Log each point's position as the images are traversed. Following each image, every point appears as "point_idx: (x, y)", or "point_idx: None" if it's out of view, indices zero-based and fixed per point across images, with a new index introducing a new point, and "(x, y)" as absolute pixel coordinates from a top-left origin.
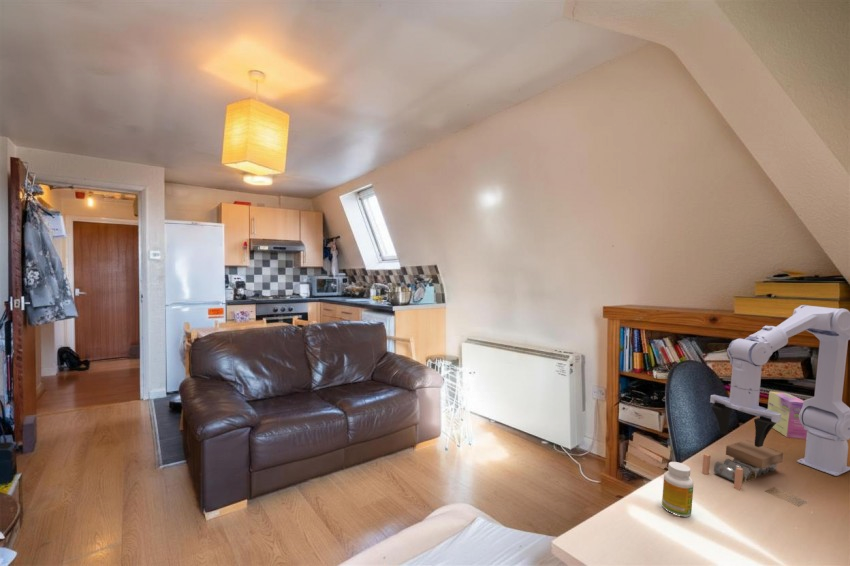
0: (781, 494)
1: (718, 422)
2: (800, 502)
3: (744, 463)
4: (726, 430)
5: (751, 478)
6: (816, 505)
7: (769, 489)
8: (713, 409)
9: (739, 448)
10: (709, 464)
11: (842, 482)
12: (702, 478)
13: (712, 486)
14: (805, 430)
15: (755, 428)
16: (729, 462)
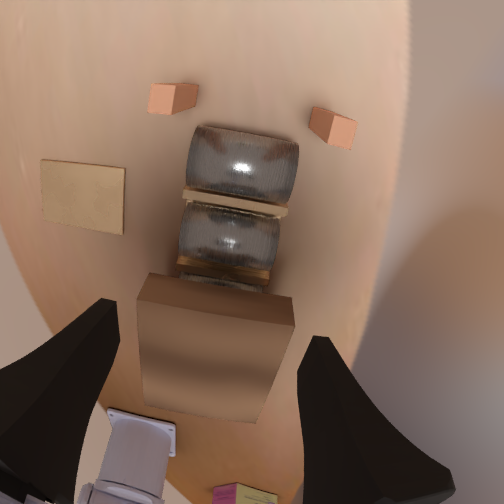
0: (89, 197)
1: (363, 392)
2: (48, 195)
3: None
4: (304, 377)
5: None
6: (34, 224)
7: (120, 201)
8: (438, 470)
9: (245, 342)
10: (317, 132)
11: None
12: (314, 62)
13: (260, 23)
14: (214, 500)
15: (46, 386)
16: (258, 236)
